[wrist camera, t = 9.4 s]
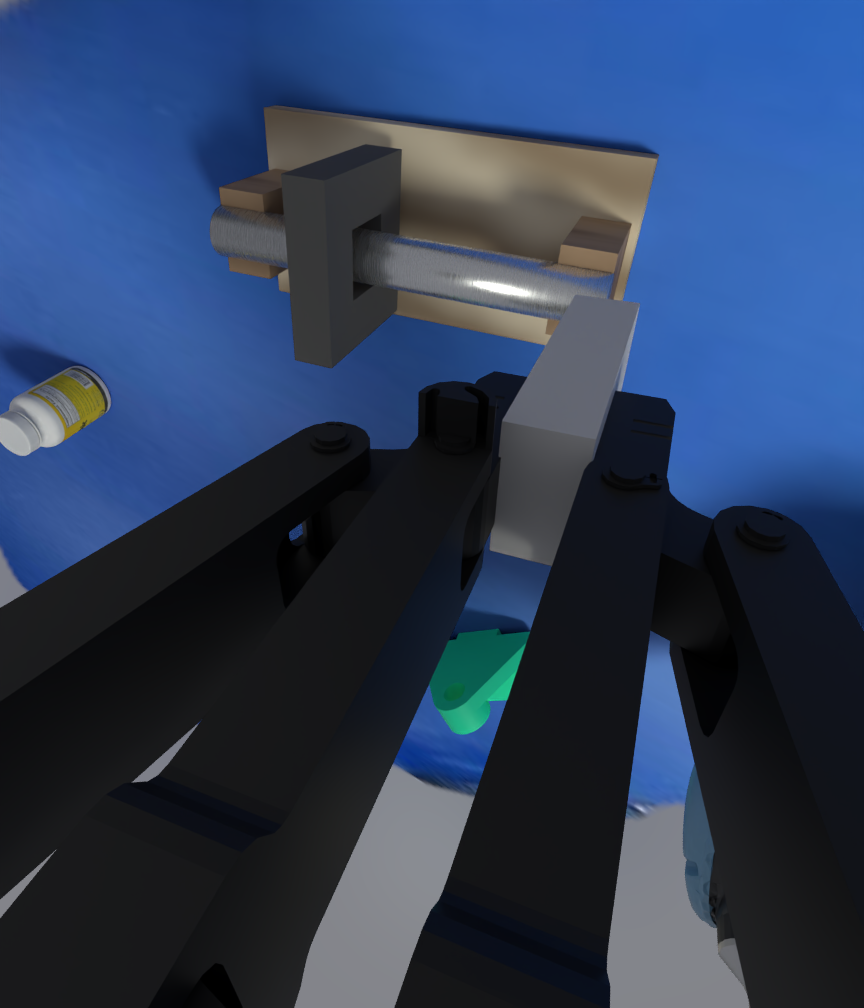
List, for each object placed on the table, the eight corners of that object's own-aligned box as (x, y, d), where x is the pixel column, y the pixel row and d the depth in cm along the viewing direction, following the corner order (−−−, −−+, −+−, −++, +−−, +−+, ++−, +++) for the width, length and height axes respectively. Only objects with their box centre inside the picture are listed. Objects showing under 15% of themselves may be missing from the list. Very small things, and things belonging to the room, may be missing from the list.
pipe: (604, 319, 37) (595, 341, 35) (242, 250, 43) (212, 264, 40) (618, 261, 35) (610, 280, 33) (236, 196, 41) (204, 208, 38)
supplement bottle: (85, 414, 68) (7, 463, 60) (58, 366, 65) (-27, 411, 57) (122, 412, 65) (46, 462, 58) (95, 362, 63) (12, 407, 55)
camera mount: (461, 683, 72) (430, 763, 64) (430, 635, 69) (394, 712, 61) (561, 677, 66) (539, 765, 58) (532, 623, 63) (505, 708, 55)
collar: (397, 310, 45) (331, 368, 37) (365, 303, 46) (294, 359, 38) (401, 149, 39) (324, 180, 31) (365, 144, 39) (280, 173, 32)
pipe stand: (610, 349, 44) (592, 400, 38) (289, 284, 50) (230, 320, 44) (658, 154, 37) (646, 181, 31) (275, 105, 43) (202, 119, 37)
